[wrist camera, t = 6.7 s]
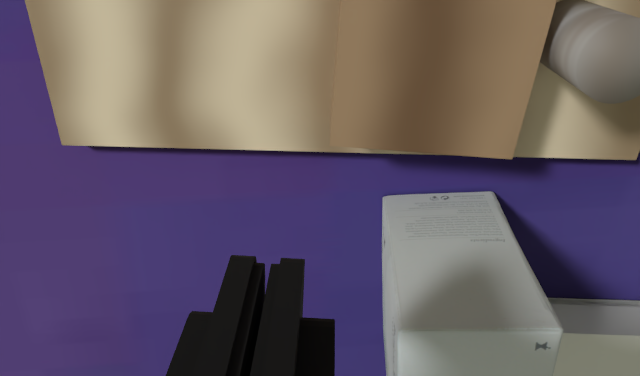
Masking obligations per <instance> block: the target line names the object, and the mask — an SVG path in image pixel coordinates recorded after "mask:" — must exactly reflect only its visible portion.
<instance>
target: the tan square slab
mask: <svg viewBox="0 0 640 376" xmlns="http://www.w3.org/2000/svg"><path fill="white" fill-rule="evenodd" d="M556 1H557V0H340V11H339V23H338V35H337V47H336V59H335V72H334V84H333V96H332V108H331V120H330V146H338V147H351V148H365V149H378V150H392V151H405V152H418V153H432V154H445V155H459V156H472V157H485V158H499V159H512V158H513V155H514V151H515V148H516V144H517V140H518V137H519V133H520V130H521V126H522V123H523V119H524V115H525V112H526V108H527V105H528V101H529V98H530V94H531V91H532V87H533V83H534V80H535V76H536V73H537V69H538V66H539V62H540V58H541V55H542V51H543V48H544V44H545V41H546V37H547V34H548V30H549V26H550V23H551V19H552V16H553V12H554V9H555V5H556Z"/></svg>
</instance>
